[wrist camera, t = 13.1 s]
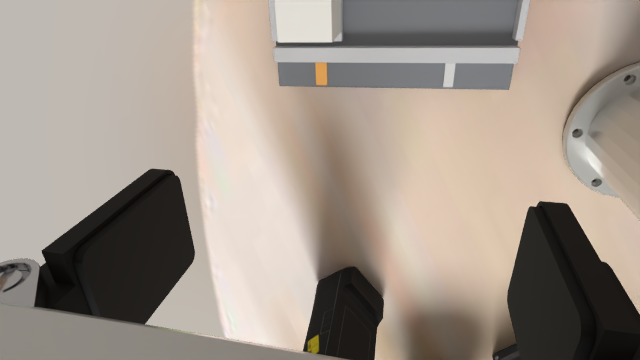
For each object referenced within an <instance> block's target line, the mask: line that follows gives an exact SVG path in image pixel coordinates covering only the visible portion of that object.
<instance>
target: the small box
mask: <svg viewBox="0 0 640 360" xmlns="http://www.w3.org/2000/svg"><path fill="white" fill-rule="evenodd" d="M492 357H493V360H521V359H520V354H519V350H518V346H517V344H515V345H513V346H511V347H509V348H506V349H504V350H502V351H500V352H498V353H496V354H494V355H493V356H492Z"/></svg>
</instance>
